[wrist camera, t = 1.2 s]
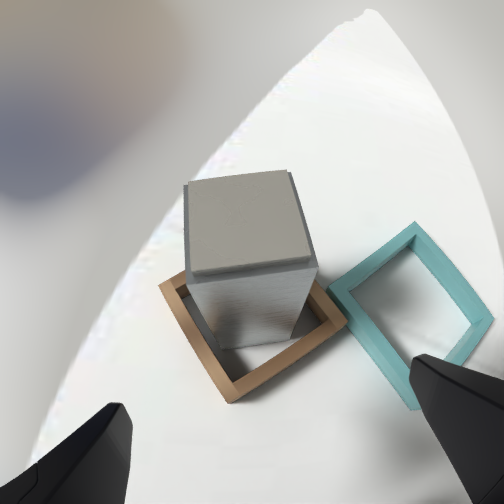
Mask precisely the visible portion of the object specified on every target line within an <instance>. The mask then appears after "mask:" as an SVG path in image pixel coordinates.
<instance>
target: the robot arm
mask: <svg viewBox="0 0 504 504" xmlns="http://www.w3.org/2000/svg"><path fill="white" fill-rule="evenodd" d="M409 383H410V385H411V387H412V389H413V392H414V394H415V396H416V398H417V400H418V403H419V405H420V407H421V409H422V411H423V414H424V416H425V418H426V420H427V421H428V423H429V425H430V427H431V428H432V430H433V432H434V433H435V435H436V437H437V439H438V440H439V442H440V444H441V446H442V447H443V449H444V451H445V453H446V454H447V456H448V458H449V460H450V462H451V463H452V465H453V467H454V469H455V471H456V473H457V474H458V476H459V478H460V480H461V482H462V484H463V486H464V488H465V489H466V491H467V493H468V495H469V497H470V499H471V501H472V503H473V504H504V380H501V379H498V378H495V377H492V376H489V375H486V374H483V373H480V372H477V371H474V370H471V369H468V368H465V367H462V366H459V365H456V364H453V363H450V362H447V361H444V360H442V359H439V358H436V357H433V356H430V355H427V354H421V355H418V356H415V357H414V358H413V360H412V364H411V369H410V373H409ZM132 430H133V425H132V421H131V419H130V417H129V415H128V413H127V411H126V409H125V407H124V405H123V404H122V403H115V402H111V403H108V404H107V405H106V406H105V407H103V408H102V409H101V410H100V411H99V412H97V413H96V414H95V415H94V416H93V417H91V418H90V419H89V420H88V421H87V422H85V423H84V424H83V425H82V426H81V427H79V428H78V429H77V430H76V431H74V432H73V433H72V434H71V435H70V436H68V437H67V438H66V439H65V440H63V441H62V442H61V443H60V444H58V445H57V446H56V447H55V448H54V449H52V450H51V451H50V452H49V453H47V454H46V455H45V456H44V457H42V458H41V459H40V460H39V461H37V463H35V464H33V465H32V466H31V467H30V468H28V469H27V470H26V471H24V472H23V473H22V474H20V475H19V476H18V477H16V478H15V479H13V480H11V481H10V482H8V483H7V484H5V485H4V486H2V487H0V504H124V502H125V496H126V489H127V483H128V477H129V471H130V461H131V444H132Z"/></svg>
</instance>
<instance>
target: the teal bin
mask: <svg viewBox="0 0 504 504" xmlns="http://www.w3.org/2000/svg"><path fill="white" fill-rule="evenodd" d="M406 246H409V247H410V248H411V250H412V251H413V252H414V253H415V254H416V255H417V256H418V258H419V259H420V260H421V261H422V262H423V263H424V264H425V266H426V267H427V268H428V269H429V270H430V272H431V273H432V274H433V275H434V276H435V278H436V279H437V280H438V281H439V282H440V284H441V285H442V286H443V287H444V289H445V290H446V291H447V292H448V294H449V295H450V296H451V298H452V299H453V300H454V301H455V303H456V304H457V305H458V307H459V308H460V309H461V311H462V312H463V313H464V315H465V316H466V317H467V319H468V320H469V321H470V323H471V324H472V325H471V326H470V328H469V329H468V330H467V331H466V333H465V334H464V335H463V337H462V338H461V339H460V341H459V342H458V343H457V344H456V346H455V347H454V348H453V349H452V350H451V352H450V353H449V354H448V355H447V356H446V358H445V359H444V361H447V362H450V363H453V364H456V365H459V366H461V365H462V364H463V363H464V361H465V360H466V359H467V357H468V356H469V355H470V353H471V352H472V351H473V349H474V348H475V346H476V345H477V344H478V342H479V341H480V339H481V338H482V336H483V335H484V334H485V332H486V331H487V329H488V328H489V326H490V324H491V323H492V321H493V320H494V317H493V316H492V314H491V313H490V311H489V310H488V309H487V307H486V306H485V304H484V303H483V302H482V300H481V299H480V298H479V296H478V295H477V294H476V292H475V291H474V290H473V288H472V287H471V286H470V284H469V283H468V282H467V281H466V279H465V278H464V277H463V276H462V274H461V273H460V272H459V271H458V269H457V268H456V267H455V266H454V265H453V263H452V262H451V261H450V260H449V259H448V257H447V256H446V255H445V254H444V253H443V252H442V250H441V249H440V248H439V247H438V246H437V245H436V244H435V242H434V241H433V240H432V239H431V238H430V237H429V236H428V235H427V234H426V232H425V231H424V230H423V229H422V228H421V227H420V226H419V225H418V224H417V223H416V222H415V221H414V222H413V223H412V224H410V225H409V226H408V227H407V228H405V229H404V230H403V231H402V232H400V233H399V234H398V235H397V236H395V237H394V238H393V239H391V240H390V241H389V242H388V243H386V244H385V245H384V246H382V247H381V248H380V249H378V250H377V251H376V252H374V253H373V254H372V255H370V256H369V257H368V258H366V259H365V260H364V261H362V262H361V263H360V264H358V265H357V266H356V267H354V268H353V269H351V270H350V271H349V272H347V273H346V274H345V275H343V276H342V277H340V278H339V279H338V280H336V281H335V282H333V283H332V284H330V285H329V286H328V288H327V289H326V291H325V293H326V294H327V295H328V296H329V298H330V299H331V300H332V301H333V303H334V304H335V305H336V306H337V308H338V309H339V310H340V311H341V313H342V314H343V315H344V317H345V318H346V319H347V320H348V322H347V323H346V326H347V327H348V328H349V330H350V331H351V332H352V334H353V335H354V336H355V337H356V339H357V340H358V341H359V343H360V344H361V345H362V346H363V348H364V349H365V350H366V352H367V353H368V354H369V356H370V357H371V358H372V359H373V361H374V362H375V363H376V365H377V366H378V367H379V369H380V370H381V371H382V373H383V374H384V375H385V377H386V378H387V379H388V381H389V382H390V383H391V385H392V386H393V387H394V389H395V390H396V391H397V393H398V394H399V395H400V397H401V398H402V399H403V401H404V402H405V403H406V405H407V406H408V407H409V409H410V410H422V409H421V407H420V405H419V403H418V400H417V398H416V396H415V394H414V392H413V389H412V387H411V385H410V383H409V373H410V369H409V368H408V367H407V365H406V364H405V363H404V361H403V360H402V359H401V357H400V356H399V355H398V354H397V352H396V351H395V350H394V348H393V347H392V346H391V344H390V343H389V342H388V340H387V339H386V338H385V337H384V335H383V334H382V333H381V331H380V330H379V329H378V328H377V326H376V325H375V324H374V323H373V321H372V320H371V319H370V318H369V316H368V315H367V314H366V313H365V311H364V310H363V309H362V308H361V306H360V305H359V304H358V303H357V301H356V300H355V299H354V298H353V296H352V295H351V294H350V293H349V292H350V291H351V290H353V289H354V288H355V287H357V286H358V285H359V284H360V283H362V282H363V281H364V280H366V279H367V278H368V277H369V276H371V275H372V274H373V273H375V272H376V271H377V270H378V269H380V268H381V267H382V266H383V265H385V264H386V263H387V262H388V261H389V260H391V259H392V258H393V257H394V256H396V255H397V254H398V253H399V252H400V251H402V250H403V249H404V248H405V247H406Z"/></svg>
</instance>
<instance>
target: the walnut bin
mask: <svg viewBox="0 0 504 504" xmlns="http://www.w3.org/2000/svg"><path fill="white" fill-rule="evenodd" d="M158 286H159V288H160V290H161V292H162V294H163V296H164V298H165V300H166V301H167V303H168V305H169V307H170V309H171V311H172V313H173V314H174V316H175V318H176V320H177V322H178V323H179V325H180V327H181V329H182V330H183V332H184V334H185V336H186V337H187V339H188V341H189V343H190V344H191V346H192V348H193V349H194V351H195V353H196V354H197V356H198V358H199V359H200V361H201V363H202V364H203V366H204V368H205V369H206V371H207V372H208V374H209V376H210V377H211V379H212V380H213V382H214V384H215V385H216V387H217V388H218V390H219V391H220V393H221V394H222V396H223V397H224V399H225V401H226V402H227V403H228V404H231V403H232V402H234V401H236V400H237V399H239V398H241V397H242V396H244V395H246V394H247V393H249V392H251V391H252V390H254V389H255V388H257V387H259V386H260V385H262V384H263V383H265V382H267V381H268V380H270V379H271V378H273V377H274V376H276V375H277V374H279V373H280V372H282V371H283V370H285V369H286V368H288V367H289V366H291V365H292V364H294V363H295V362H297V361H298V360H299V359H301V358H302V357H304V356H305V355H307V354H308V353H309V352H311V351H312V350H314V349H315V348H316V347H318V346H319V345H321V344H322V343H323V342H325V341H326V340H327V339H329V338H330V337H331V336H333V335H334V334H335V333H337V332H338V331H339V330H341V329H342V328H343V327H344V326H345V325H346V323H347V322H348V320H347V319H346V318H345V317H344V315H343V314H342V313H341V311H340V310H339V309H338V308H337V306H336V305H335V304H334V303H333V301H332V300H331V299H330V298H329V296H328V295H327V294H326V293H325V291H324V290H323V289H322V288H321V286H320V285H319V284H318V283H317V281H316V280H315V279H314V281H313V283H312V286H311V288H310V291H309V293H308V296H307V298H306V301H305V303H306V304H307V305H308V307H309V308H310V309H311V311H312V312H313V313H314V314H315V316H316V317H317V318H318V320H319V321H320V322H321V323H322V324H321V325H320V326H318V327H317V328H316V329H314V330H313V331H311V332H310V333H309V334H307V335H306V336H304V337H303V338H301V339H300V340H299V341H297V342H296V343H294V344H293V345H291V346H290V347H288V348H287V349H285V350H284V351H282V352H281V353H279V354H278V355H276V356H275V357H273V358H272V359H270V360H269V361H267V362H266V363H264V364H262V365H261V366H259V367H258V368H256V369H255V370H253V371H251V372H250V373H248V374H246V375H245V376H243V377H242V378H240V379H238V380H237V381H235V382H233V383H232V381H231V380H230V378H229V376H228V375H227V373H226V372H225V370H224V369H223V367H222V366H221V364H220V363H219V361H218V359H217V358H216V356H215V355H214V353H213V351H212V350H211V348H210V347H209V345H208V343H207V342H206V340H205V339H204V337H203V335H202V334H201V332H200V330H199V329H198V327H197V325H196V324H195V322H194V320H193V318H192V317H191V315H190V313H189V312H188V310H187V308H186V306H185V305H184V303H183V301H182V298H184V297H186V296H187V295H189V294H191V293H190V292H189V290H188V288H187V286H186V272H185V270H184V271H182V272H181V273H179V274H177V275H175V276H174V277H172V278H170V279H168V280H167V281H165V282H163V283H161V284H160V285H158Z"/></svg>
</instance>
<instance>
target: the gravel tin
mask: <svg viewBox="0 0 504 504" xmlns="http://www.w3.org/2000/svg"><path fill="white" fill-rule="evenodd" d="M184 245H185V272H186V286H187V288H188V290H189V292H190V293H191V295H192V297H193V299H194V301H195V303H196V305H197V306H198V308H199V310H200V312H201V314H202V315H203V317H204V319H205V321H206V323H207V324H208V326H209V328H210V330H211V331H212V333H213V335H214V337H215V338H216V340H217V342H218V344H219V345H220V347H221V349H222V350H223V349H231V348H239V347H246V346H254V345H261V344H267V343H274V342H280V341H286V340H289V339H290V337H291V334H292V332H293V330H294V327H295V325H296V322H297V320H298V318H299V315H300V313H301V310H302V308H303V306H304V303H305V301H306V298H307V296H308V293H309V291H310V288H311V286H312V283H313V281H314V278H315V275H316V273H317V270H318V268H319V266H318V262H317V259H316V255H315V251H314V248H313V244H312V241H311V237H310V234H309V230H308V227H307V223H306V220H305V217H304V213H303V210H302V206H301V203H300V200H299V197H298V193H297V190H296V187H295V184H294V181H293V177H292V174H291V172H287V170H278V171H268V172H258V173H249V174H241V175H233V176H225V177H217V178H210V179H203V180H196V181H189V182H188V185H184Z"/></svg>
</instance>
